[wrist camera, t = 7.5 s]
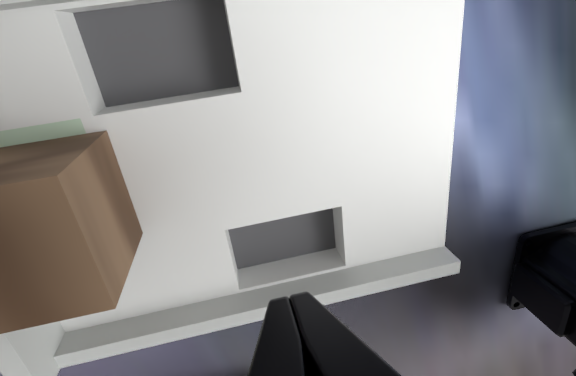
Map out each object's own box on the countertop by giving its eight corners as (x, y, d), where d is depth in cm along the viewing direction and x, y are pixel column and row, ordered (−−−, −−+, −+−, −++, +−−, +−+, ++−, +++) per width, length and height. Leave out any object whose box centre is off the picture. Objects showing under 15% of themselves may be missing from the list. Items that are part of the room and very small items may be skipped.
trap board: (440, -60, 16) (532, -97, 11) (425, 238, 22) (477, 291, 18) (-104, 4, 13) (-272, -9, 9) (66, 319, 20) (22, 403, 15)
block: (107, 130, 14) (56, 175, 10) (143, 232, 16) (115, 308, 12) (-26, 151, 14) (-143, 210, 9) (30, 255, 16) (-44, 343, 11)
